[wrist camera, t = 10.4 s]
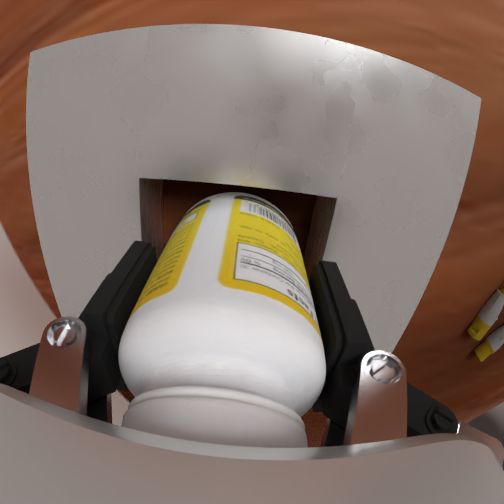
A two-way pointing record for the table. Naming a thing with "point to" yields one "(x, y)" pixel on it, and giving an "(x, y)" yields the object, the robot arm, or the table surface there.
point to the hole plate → (247, 151)
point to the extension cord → (488, 326)
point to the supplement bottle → (225, 331)
